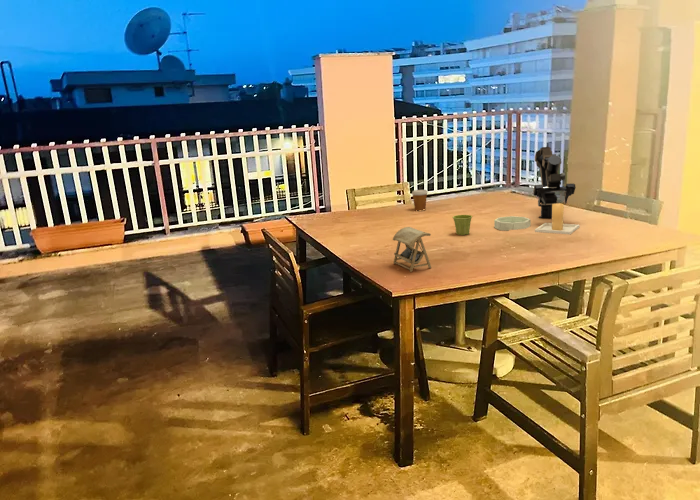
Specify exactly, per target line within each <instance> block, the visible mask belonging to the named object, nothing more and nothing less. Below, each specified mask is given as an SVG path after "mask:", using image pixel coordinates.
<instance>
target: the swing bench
mask: <svg viewBox="0 0 700 500" xmlns="http://www.w3.org/2000/svg"><path fill="white" fill-rule="evenodd" d="M431 235H432V234H431V233H429V232H425V231H422V230H420V229H416V228H413V227H411V226H404V227H403V228H400V229H399V230H398V231H397V232H396V233H395V234H394V235H393V237H392V241H396V242H397V246H396V251H395V252H394V253H393V255H394V258H393V263H394V265H396V264H397V265H398V266H401V267H403V268H405V269H407V270H409V272H410V273H413V270H414V268H415V269H416V268H419V267H425V266H428V267H427V268H428V269H432V265H431V262H430V259H429V256H428V253H427V250H426V247H425V245H424V242H423V239H422V238H423V237H430V236H431ZM401 243H402V244H404V245H405V249H404V250H403V251H402V252H401V253H400V254H399V251H400V246H401ZM418 249H420V250H418ZM423 257H424V258H425V261H426V263H423V264H419V263H420V262H422V261H421V260H422V259H423ZM400 260H402V261H404V262H406V263H409V264H410V267H408V266H407V265H405V264H402V263H401V262H398V261H400Z"/></svg>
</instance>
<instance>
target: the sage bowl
mask: <svg viewBox="0 0 700 500" xmlns="http://www.w3.org/2000/svg"><path fill="white" fill-rule="evenodd" d="M531 222H532V220H531V218H528V217H525V216H517V215H516V216H515V215H510V216H500V217H497V218H496V219H494V229H496V230H498V231H504V232H509V231H511V230H525V229H528V228H530V227H531V225H532V223H531Z"/></svg>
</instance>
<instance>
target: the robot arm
mask: <svg viewBox="0 0 700 500" xmlns="http://www.w3.org/2000/svg"><path fill="white" fill-rule="evenodd" d="M534 162H535V164H536V167H537V168H539V171H540V173H539V174H540V181H541V184H535V185H533V191H532V193H533V196H535V197H537V198H538V199H537V206H538V207H539V208H540V215H539V216H538V218H539V219H552V204H556V203H557V202H558V197H557V194H556V192H564V203H565V204H564V205H566V204H567V203H568V199H569V197H570V196H572V195H574V194H575V191H576V184H575V182H574V183H573V182H571V183H565V186H561V184H562V182H561V181H565V180H566V173H565V172H560V173H559V171H560V168H561V164H562V158H561V157H560V156H558V155H557V153H553V151H552V148H551V147H550V146H542V147H540V148H539V150H537V151H535V154H534Z"/></svg>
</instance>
